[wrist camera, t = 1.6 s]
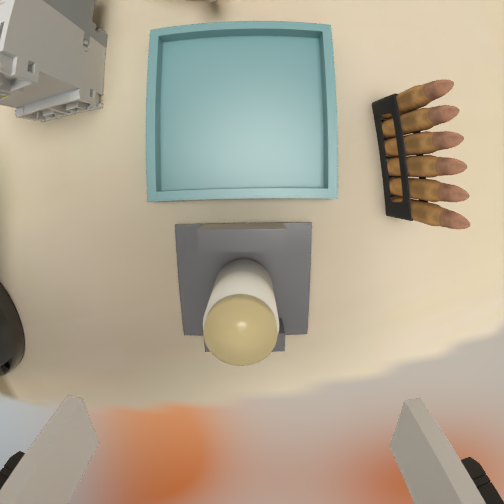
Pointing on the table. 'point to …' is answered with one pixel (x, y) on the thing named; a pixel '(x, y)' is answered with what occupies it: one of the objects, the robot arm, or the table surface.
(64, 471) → the robot arm
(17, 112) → the circuit breaker
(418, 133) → the ammunition clip
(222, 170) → the parts tray
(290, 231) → the grey square holder base
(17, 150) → the table surface
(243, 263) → the cylinder
